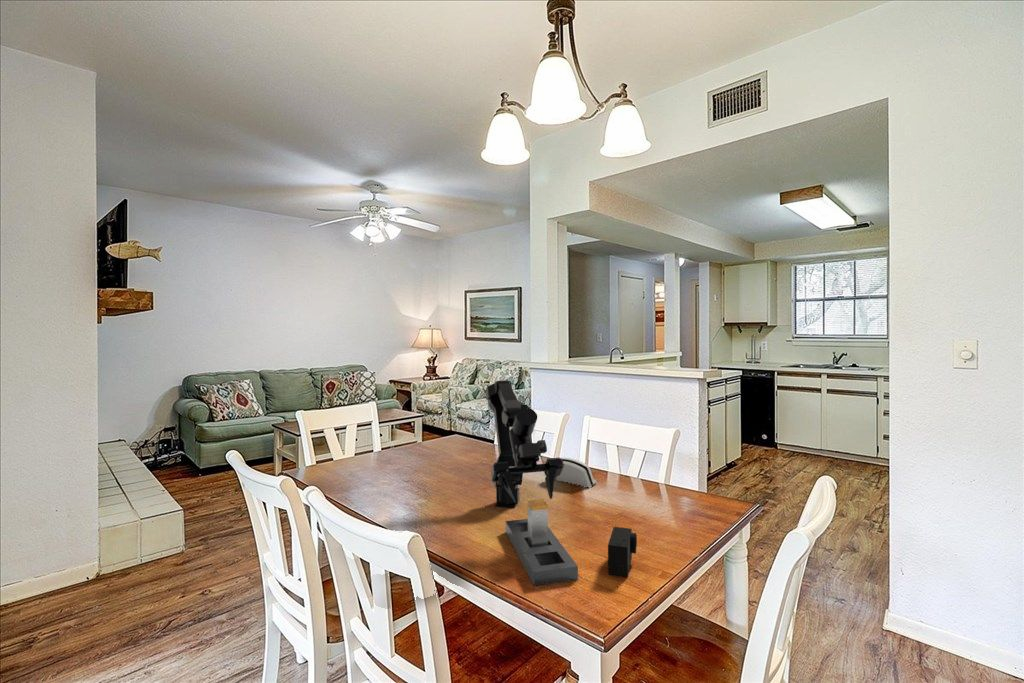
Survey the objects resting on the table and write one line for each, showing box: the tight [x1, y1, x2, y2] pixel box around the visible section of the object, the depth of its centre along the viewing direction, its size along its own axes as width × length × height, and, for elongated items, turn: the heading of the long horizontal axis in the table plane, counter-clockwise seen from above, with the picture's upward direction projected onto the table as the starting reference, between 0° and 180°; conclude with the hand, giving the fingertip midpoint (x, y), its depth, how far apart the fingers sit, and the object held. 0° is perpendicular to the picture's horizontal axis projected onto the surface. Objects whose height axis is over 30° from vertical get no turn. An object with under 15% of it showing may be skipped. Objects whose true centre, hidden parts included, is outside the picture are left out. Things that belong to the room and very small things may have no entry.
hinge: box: [555, 457, 597, 488], centre depth 169 cm, size 17×5×10 cm, turn 49°
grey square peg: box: [526, 499, 549, 548], centre depth 116 cm, size 4×4×12 cm
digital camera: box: [607, 526, 638, 579], centre depth 109 cm, size 10×5×7 cm, turn 161°
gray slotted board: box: [505, 518, 579, 587], centre depth 116 cm, size 28×10×3 cm, turn 13°
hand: (533, 500), depth 119 cm, fingers open, 9 cm apart
